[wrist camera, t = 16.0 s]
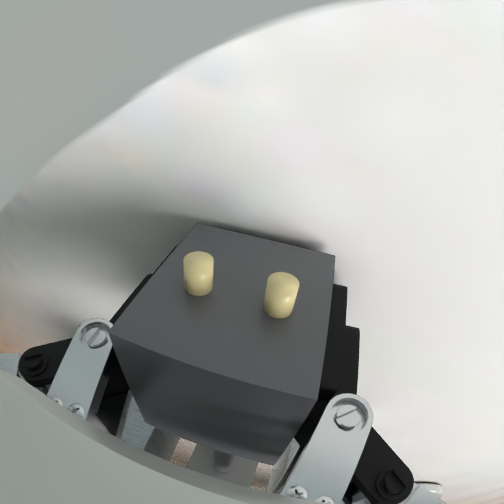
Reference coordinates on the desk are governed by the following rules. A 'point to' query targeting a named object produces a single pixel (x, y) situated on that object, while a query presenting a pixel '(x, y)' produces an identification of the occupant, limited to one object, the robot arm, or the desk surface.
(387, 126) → the desk surface
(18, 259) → the desk surface
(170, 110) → the desk surface
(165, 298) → the plug
